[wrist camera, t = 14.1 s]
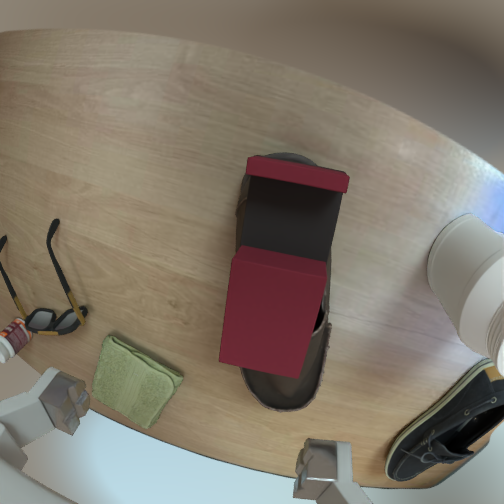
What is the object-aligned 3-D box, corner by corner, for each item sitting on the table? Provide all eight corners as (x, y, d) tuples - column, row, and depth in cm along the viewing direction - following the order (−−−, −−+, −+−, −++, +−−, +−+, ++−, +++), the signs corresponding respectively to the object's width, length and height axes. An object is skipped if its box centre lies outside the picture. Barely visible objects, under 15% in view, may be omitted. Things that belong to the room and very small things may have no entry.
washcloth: (189, 371, 43) (182, 387, 40) (155, 422, 51) (149, 435, 48) (109, 324, 42) (98, 338, 39) (92, 385, 50) (84, 397, 47)
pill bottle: (21, 314, 46) (-8, 340, 39) (36, 335, 48) (9, 363, 40) (12, 321, 48) (-15, 345, 40) (27, 341, 49) (1, 367, 42)
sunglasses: (58, 217, 37) (34, 230, 32) (98, 317, 42) (80, 337, 38) (5, 235, 40) (-17, 247, 35) (41, 318, 45) (23, 335, 41)
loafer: (246, 383, 42) (231, 445, 33) (211, 157, 31) (170, 177, 21) (326, 384, 40) (326, 448, 31) (324, 148, 29) (334, 163, 19)
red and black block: (256, 154, 21) (244, 156, 17) (345, 171, 21) (352, 177, 17) (229, 332, 26) (216, 361, 22) (302, 347, 25) (299, 379, 22)
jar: (518, 243, 29) (591, 309, 15) (480, 309, 33) (532, 391, 19) (453, 202, 29) (533, 264, 15) (412, 279, 33) (460, 373, 19)
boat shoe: (365, 458, 47) (367, 500, 39) (477, 346, 35) (501, 392, 27) (409, 464, 47) (414, 502, 39) (516, 362, 35) (539, 402, 27)
